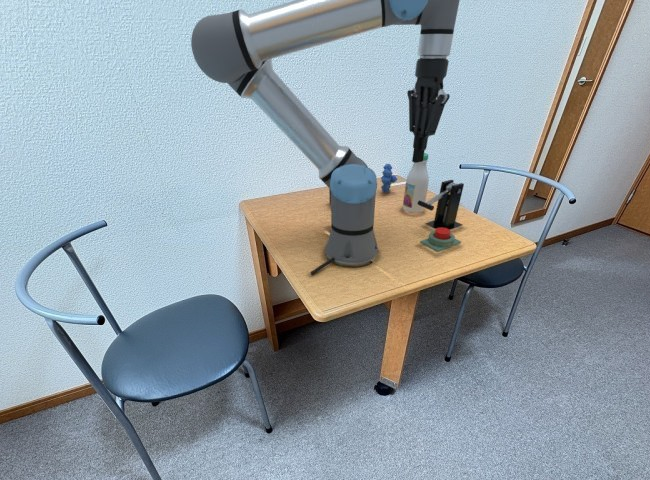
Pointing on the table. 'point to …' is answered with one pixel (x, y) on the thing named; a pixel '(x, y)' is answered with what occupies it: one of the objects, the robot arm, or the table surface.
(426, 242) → the button box
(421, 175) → the milk bottle
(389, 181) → the grapes
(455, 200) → the bracket
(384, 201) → the table surface
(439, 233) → the button
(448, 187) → the lever
